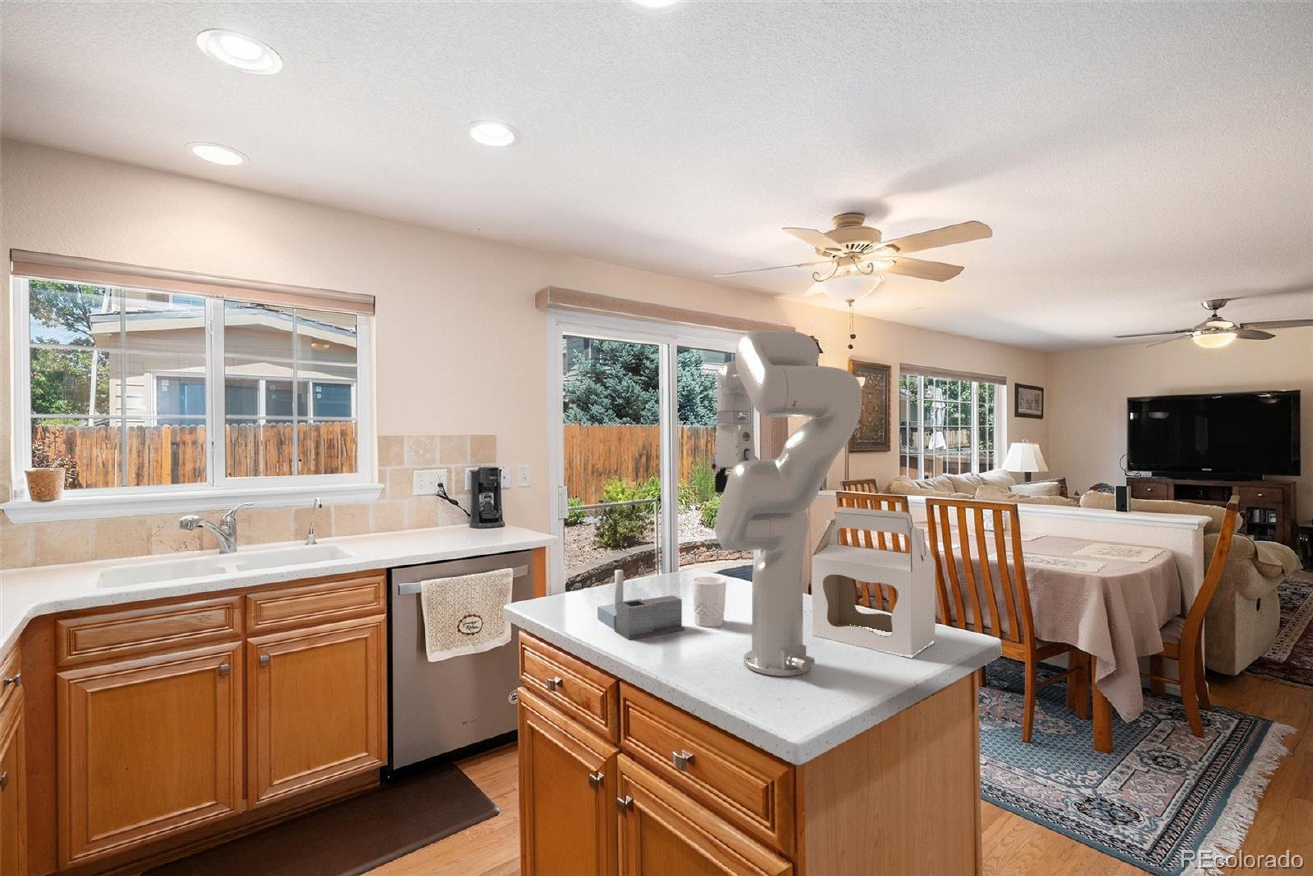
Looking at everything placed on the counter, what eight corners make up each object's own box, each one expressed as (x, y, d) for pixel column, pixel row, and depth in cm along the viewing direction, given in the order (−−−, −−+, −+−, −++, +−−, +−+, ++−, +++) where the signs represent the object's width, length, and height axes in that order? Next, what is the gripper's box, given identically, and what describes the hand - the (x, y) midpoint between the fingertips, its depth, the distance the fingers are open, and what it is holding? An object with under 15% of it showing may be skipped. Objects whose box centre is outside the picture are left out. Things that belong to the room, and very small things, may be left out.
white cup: (725, 618, 152) (725, 576, 152) (726, 628, 144) (726, 584, 144) (692, 617, 153) (692, 576, 153) (691, 627, 145) (691, 583, 145)
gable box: (810, 635, 139) (810, 508, 139) (838, 622, 149) (838, 503, 149) (913, 659, 124) (913, 516, 124) (936, 643, 134) (937, 510, 134)
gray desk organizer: (628, 636, 136) (628, 608, 136) (616, 629, 141) (616, 602, 141) (684, 627, 143) (684, 600, 143) (670, 620, 148) (670, 594, 148)
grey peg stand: (613, 629, 143) (613, 576, 143) (597, 619, 151) (597, 568, 151) (659, 621, 149) (660, 570, 149) (641, 612, 157) (642, 563, 157)
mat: (684, 630, 143) (684, 627, 143) (628, 640, 136) (628, 637, 136) (668, 622, 149) (668, 619, 149) (614, 631, 142) (614, 628, 142)
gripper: (770, 419, 141) (770, 496, 141) (724, 420, 156) (724, 490, 156) (743, 418, 137) (743, 497, 137) (699, 420, 152) (699, 491, 152)
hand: (733, 493), depth 147 cm, fingers open, 9 cm apart
